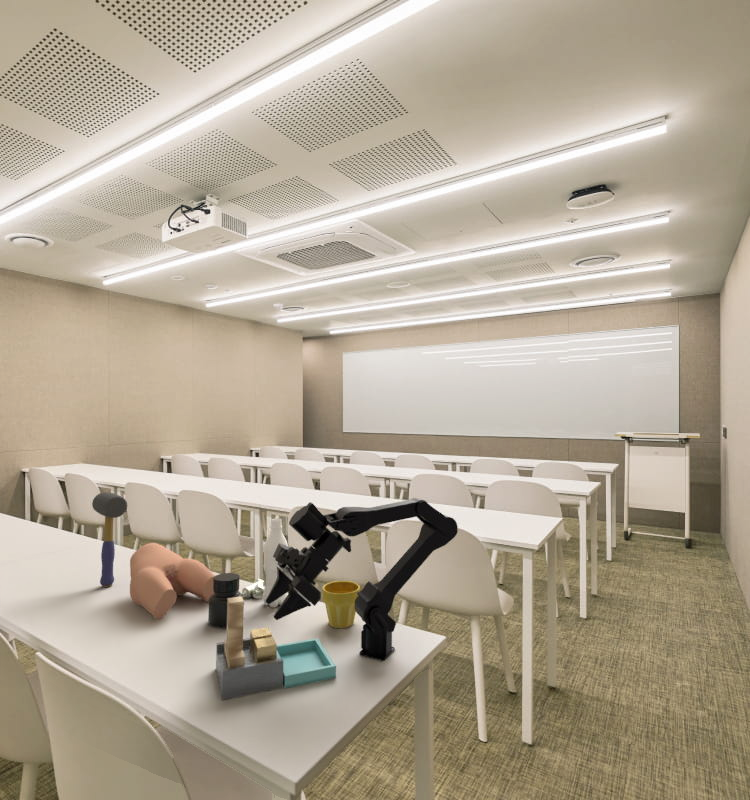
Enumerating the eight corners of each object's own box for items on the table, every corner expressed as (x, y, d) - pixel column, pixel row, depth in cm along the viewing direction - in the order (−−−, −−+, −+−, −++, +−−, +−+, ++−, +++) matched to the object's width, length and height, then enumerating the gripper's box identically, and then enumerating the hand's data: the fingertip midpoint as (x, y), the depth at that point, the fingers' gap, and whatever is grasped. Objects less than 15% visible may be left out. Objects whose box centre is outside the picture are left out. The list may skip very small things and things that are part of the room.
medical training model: (148, 635, 131) (157, 592, 129) (108, 587, 146) (115, 548, 144) (215, 611, 148) (223, 573, 146) (172, 571, 162) (180, 535, 160)
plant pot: (313, 622, 131) (314, 586, 132) (342, 612, 139) (343, 577, 139) (338, 635, 124) (339, 596, 124) (367, 623, 131) (368, 587, 131)
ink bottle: (250, 617, 134) (250, 573, 135) (232, 630, 126) (233, 584, 126) (219, 613, 137) (220, 570, 137) (200, 625, 128) (201, 580, 129)
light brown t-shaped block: (238, 648, 107) (239, 591, 108) (244, 669, 99) (246, 606, 99) (224, 651, 106) (225, 593, 106) (229, 672, 97) (230, 608, 98)
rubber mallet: (126, 587, 156) (129, 494, 157) (101, 594, 150) (104, 496, 151) (112, 578, 164) (114, 489, 165) (87, 584, 158) (90, 492, 159)
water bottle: (288, 599, 148) (290, 517, 148) (285, 609, 140) (286, 522, 141) (265, 599, 147) (266, 516, 148) (260, 609, 140) (262, 521, 141)
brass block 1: (268, 645, 110) (268, 627, 110) (271, 653, 106) (272, 634, 106) (250, 648, 108) (250, 630, 108) (253, 656, 104) (253, 637, 104)
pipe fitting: (241, 602, 147) (264, 598, 148) (241, 589, 147) (264, 586, 148) (242, 592, 154) (264, 589, 156) (241, 580, 155) (263, 577, 156)
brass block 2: (272, 655, 105) (272, 636, 105) (276, 664, 101) (276, 644, 101) (253, 658, 103) (254, 639, 103) (256, 667, 100) (257, 648, 100)
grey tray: (270, 658, 112) (271, 634, 112) (282, 687, 100) (283, 660, 100) (215, 668, 107) (216, 643, 107) (222, 700, 95) (222, 671, 95)
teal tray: (317, 648, 116) (317, 638, 117) (335, 677, 104) (336, 666, 104) (271, 657, 112) (271, 646, 112) (284, 688, 99) (285, 676, 99)
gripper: (286, 522, 117) (238, 574, 112) (306, 540, 100) (251, 602, 95) (317, 552, 120) (272, 603, 115) (342, 574, 103) (290, 636, 98)
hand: (270, 610), depth 106 cm, fingers open, 9 cm apart
